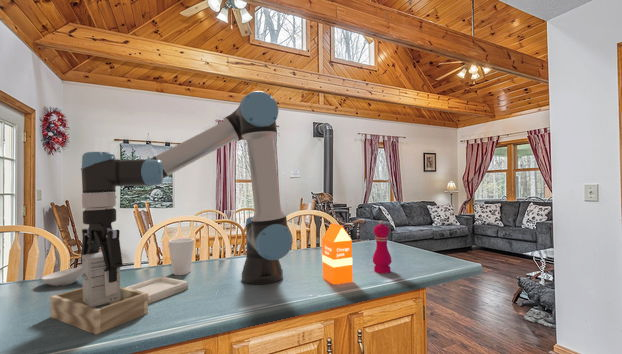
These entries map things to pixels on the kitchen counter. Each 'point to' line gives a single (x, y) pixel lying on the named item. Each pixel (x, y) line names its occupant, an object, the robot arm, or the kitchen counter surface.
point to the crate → (98, 310)
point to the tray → (160, 287)
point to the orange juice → (337, 255)
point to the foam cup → (181, 255)
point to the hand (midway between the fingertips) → (101, 291)
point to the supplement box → (96, 280)
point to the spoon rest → (63, 277)
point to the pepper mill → (381, 249)
